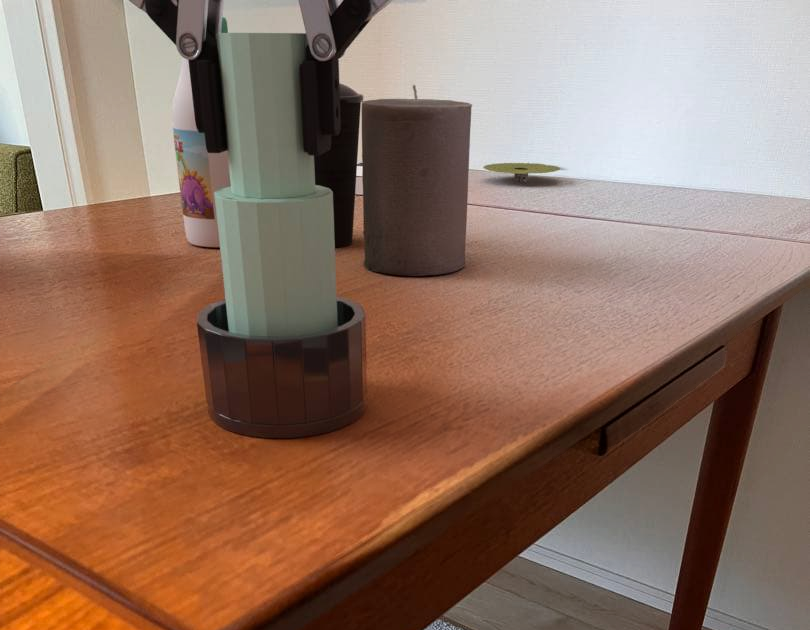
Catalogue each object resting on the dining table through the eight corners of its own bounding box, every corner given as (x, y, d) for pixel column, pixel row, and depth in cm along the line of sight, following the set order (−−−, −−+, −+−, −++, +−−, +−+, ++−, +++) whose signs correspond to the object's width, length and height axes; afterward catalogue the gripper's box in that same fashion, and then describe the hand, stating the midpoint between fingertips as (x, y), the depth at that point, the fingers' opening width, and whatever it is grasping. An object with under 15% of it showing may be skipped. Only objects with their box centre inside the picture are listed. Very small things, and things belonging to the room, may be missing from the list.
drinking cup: (348, 253, 83) (341, 16, 73) (279, 247, 85) (263, 16, 75) (377, 238, 89) (374, 17, 79) (312, 233, 92) (301, 17, 81)
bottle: (221, 410, 47) (177, 32, 37) (253, 372, 52) (221, 32, 42) (327, 416, 46) (309, 33, 37) (348, 377, 51) (337, 33, 42)
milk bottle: (254, 231, 92) (236, 17, 82) (267, 246, 86) (249, 15, 75) (183, 236, 90) (155, 16, 79) (190, 251, 84) (161, 15, 73)
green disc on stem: (538, 189, 118) (540, 174, 117) (468, 182, 123) (469, 168, 122) (571, 180, 126) (572, 165, 125) (504, 173, 131) (505, 160, 130)
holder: (185, 433, 46) (171, 334, 43) (236, 375, 54) (227, 288, 51) (350, 443, 45) (347, 343, 42) (378, 382, 53) (377, 294, 50)
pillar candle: (346, 271, 77) (341, 86, 69) (387, 249, 85) (386, 80, 77) (446, 281, 74) (452, 89, 66) (479, 258, 82) (488, 83, 74)
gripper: (456, -336, 35) (443, 146, 44) (74, -319, 37) (141, 140, 46) (438, -418, 29) (428, 165, 38) (-22, -392, 30) (77, 157, 40)
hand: (270, 146), depth 42 cm, fingers closed on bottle, 4 cm apart
